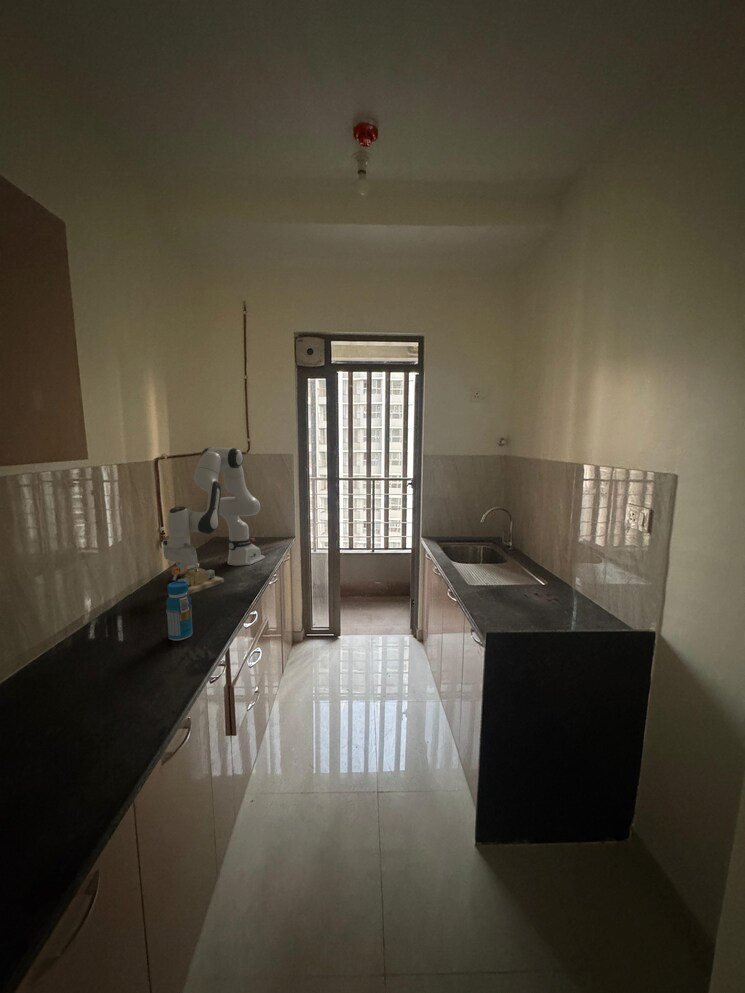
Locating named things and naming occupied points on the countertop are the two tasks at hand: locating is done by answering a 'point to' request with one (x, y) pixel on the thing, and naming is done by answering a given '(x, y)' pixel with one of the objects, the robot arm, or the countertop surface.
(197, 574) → the pipe and valve body
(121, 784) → the countertop surface
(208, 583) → the valve board
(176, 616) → the beverage bottle
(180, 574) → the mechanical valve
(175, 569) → the valve lever
